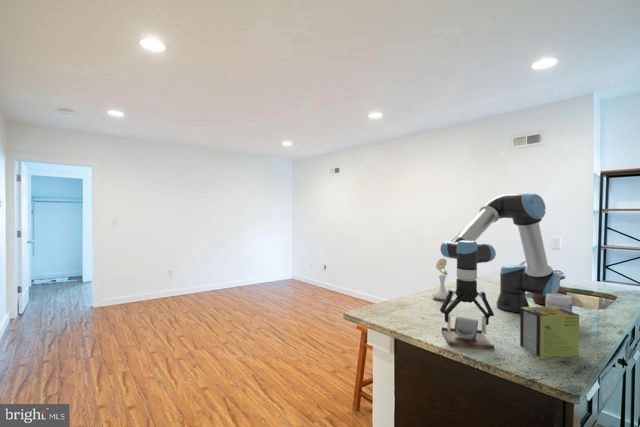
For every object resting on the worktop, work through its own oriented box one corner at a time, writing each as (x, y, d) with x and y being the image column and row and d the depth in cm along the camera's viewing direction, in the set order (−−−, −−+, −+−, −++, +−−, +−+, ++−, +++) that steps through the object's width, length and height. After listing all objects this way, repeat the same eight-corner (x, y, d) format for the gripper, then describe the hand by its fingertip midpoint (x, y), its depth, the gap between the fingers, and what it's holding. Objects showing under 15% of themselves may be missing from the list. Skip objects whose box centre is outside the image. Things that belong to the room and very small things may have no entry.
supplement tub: (575, 333, 137) (576, 299, 137) (550, 330, 140) (550, 297, 139) (566, 325, 146) (566, 293, 146) (542, 322, 149) (542, 292, 149)
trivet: (481, 334, 134) (481, 330, 134) (494, 351, 119) (494, 345, 119) (441, 331, 137) (441, 327, 137) (449, 347, 122) (449, 342, 122)
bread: (527, 302, 183) (527, 288, 183) (540, 291, 208) (540, 278, 208) (560, 308, 172) (560, 293, 172) (570, 296, 197) (570, 282, 197)
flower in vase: (430, 295, 196) (430, 255, 196) (449, 296, 194) (450, 256, 194) (435, 301, 183) (435, 258, 183) (455, 302, 181) (456, 259, 181)
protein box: (579, 357, 114) (580, 314, 114) (539, 358, 113) (540, 315, 113) (555, 344, 125) (556, 305, 124) (519, 346, 123) (519, 306, 123)
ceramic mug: (454, 332, 132) (457, 314, 133) (476, 339, 128) (479, 320, 129) (452, 335, 123) (455, 315, 124) (475, 342, 119) (478, 321, 120)
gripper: (496, 278, 129) (495, 330, 129) (433, 275, 134) (432, 325, 134) (503, 282, 122) (502, 337, 122) (436, 279, 127) (435, 332, 127)
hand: (466, 331), depth 128 cm, fingers open, 13 cm apart
